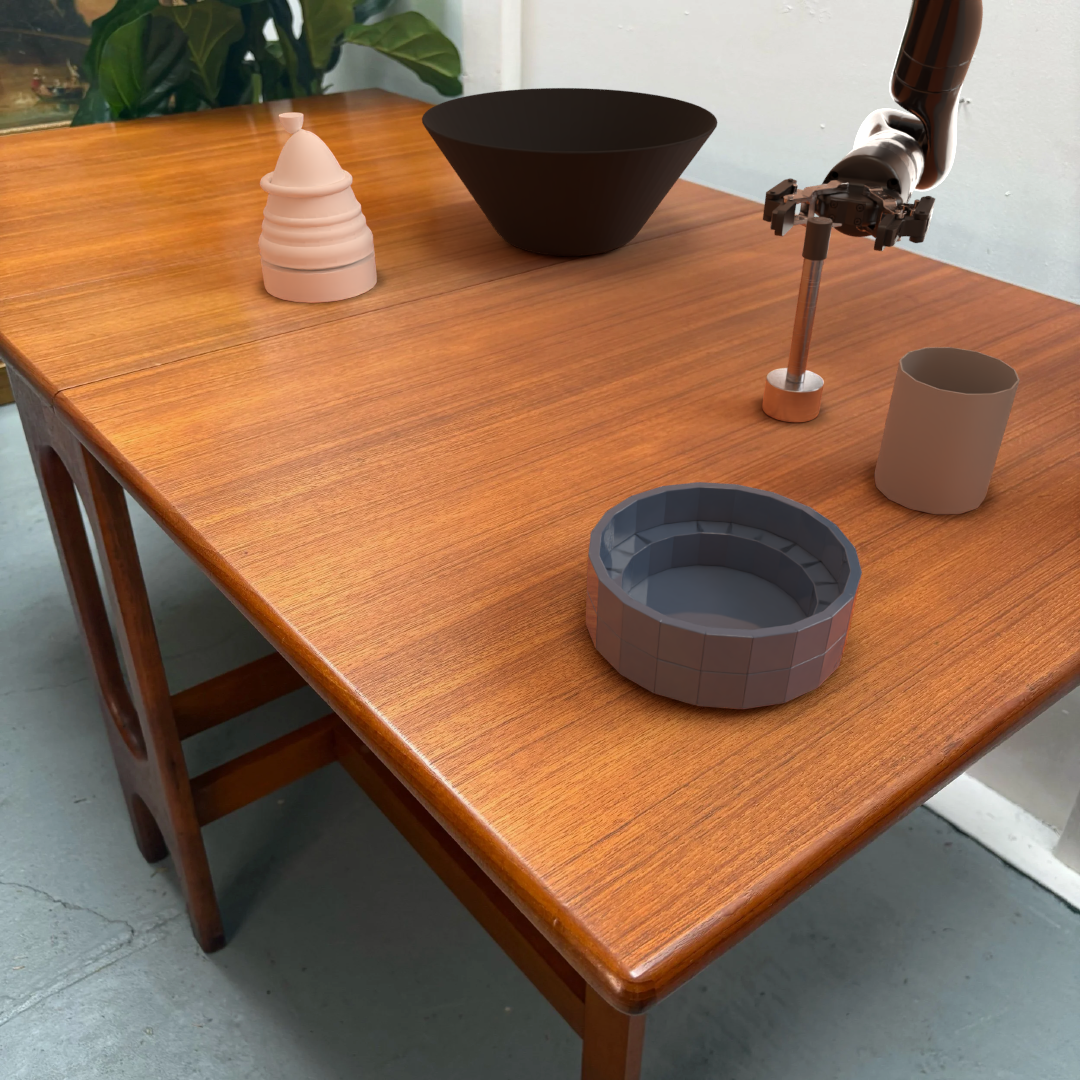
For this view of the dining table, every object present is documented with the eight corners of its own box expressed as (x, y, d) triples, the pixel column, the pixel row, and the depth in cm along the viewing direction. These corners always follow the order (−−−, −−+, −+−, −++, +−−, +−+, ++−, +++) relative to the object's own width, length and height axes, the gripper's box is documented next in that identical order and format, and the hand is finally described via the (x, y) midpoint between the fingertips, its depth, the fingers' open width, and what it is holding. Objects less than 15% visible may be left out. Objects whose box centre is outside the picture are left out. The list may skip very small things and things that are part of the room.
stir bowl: (826, 562, 72) (840, 489, 68) (862, 726, 58) (882, 646, 55) (594, 547, 73) (597, 475, 70) (577, 705, 60) (579, 625, 56)
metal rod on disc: (815, 399, 93) (847, 212, 84) (821, 424, 89) (856, 230, 80) (760, 396, 94) (785, 210, 84) (764, 421, 90) (791, 228, 80)
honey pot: (243, 282, 118) (215, 117, 108) (334, 256, 126) (316, 100, 115) (306, 311, 111) (283, 137, 100) (399, 282, 118) (387, 117, 108)
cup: (852, 482, 81) (876, 366, 75) (911, 450, 85) (938, 338, 80) (947, 526, 76) (981, 405, 70) (1005, 490, 80) (1041, 373, 74)
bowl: (738, 219, 139) (751, 102, 130) (650, 307, 112) (659, 166, 103) (505, 188, 151) (503, 79, 142) (375, 260, 124) (364, 131, 116)
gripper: (803, 137, 99) (752, 175, 87) (956, 153, 93) (925, 197, 81) (792, 215, 103) (742, 262, 91) (938, 235, 97) (906, 288, 85)
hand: (828, 231), depth 86 cm, fingers open, 8 cm apart
